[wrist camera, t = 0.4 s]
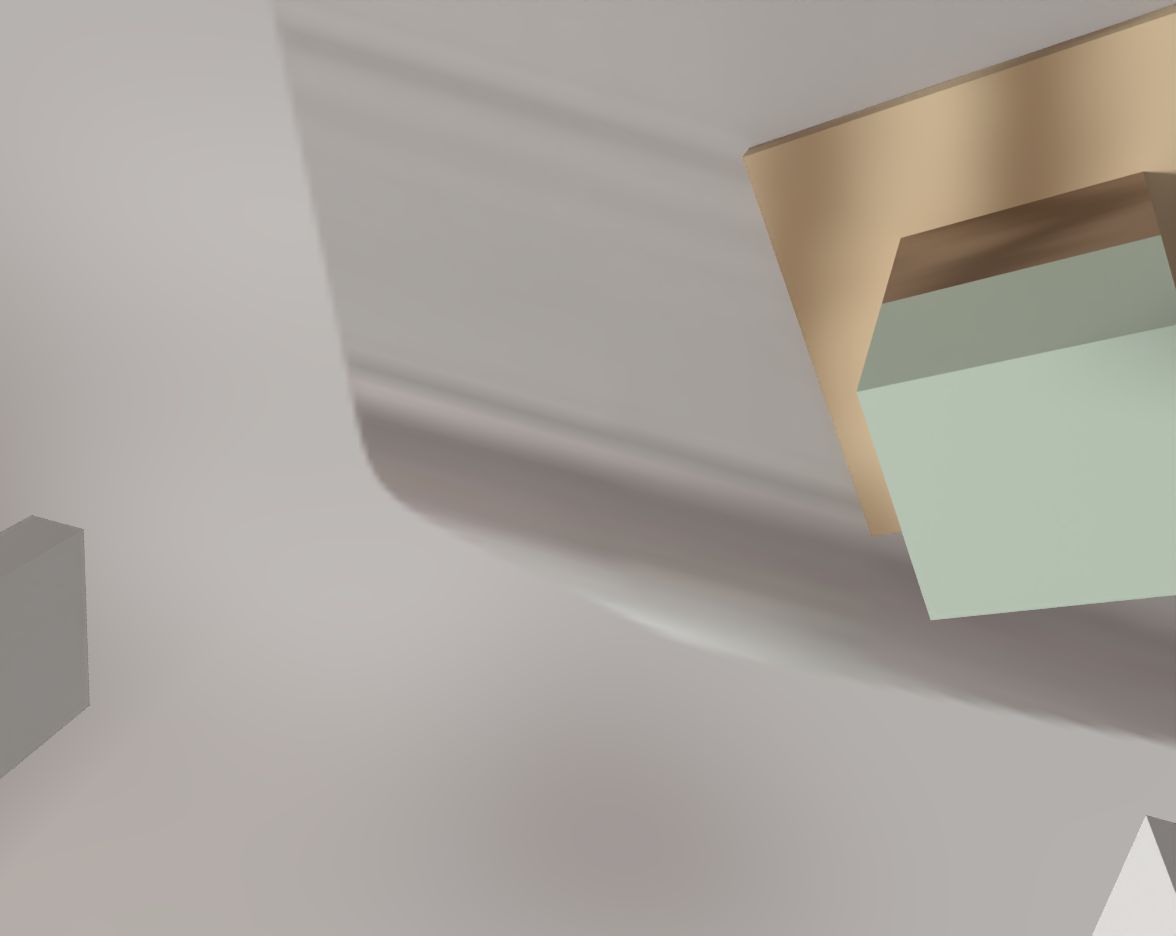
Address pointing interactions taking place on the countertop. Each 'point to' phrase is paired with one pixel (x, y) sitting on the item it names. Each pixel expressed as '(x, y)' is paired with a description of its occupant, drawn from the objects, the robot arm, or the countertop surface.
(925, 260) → the walnut base block
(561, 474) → the countertop surface
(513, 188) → the countertop surface
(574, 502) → the countertop surface
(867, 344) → the light wood square board
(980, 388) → the sage mid block
